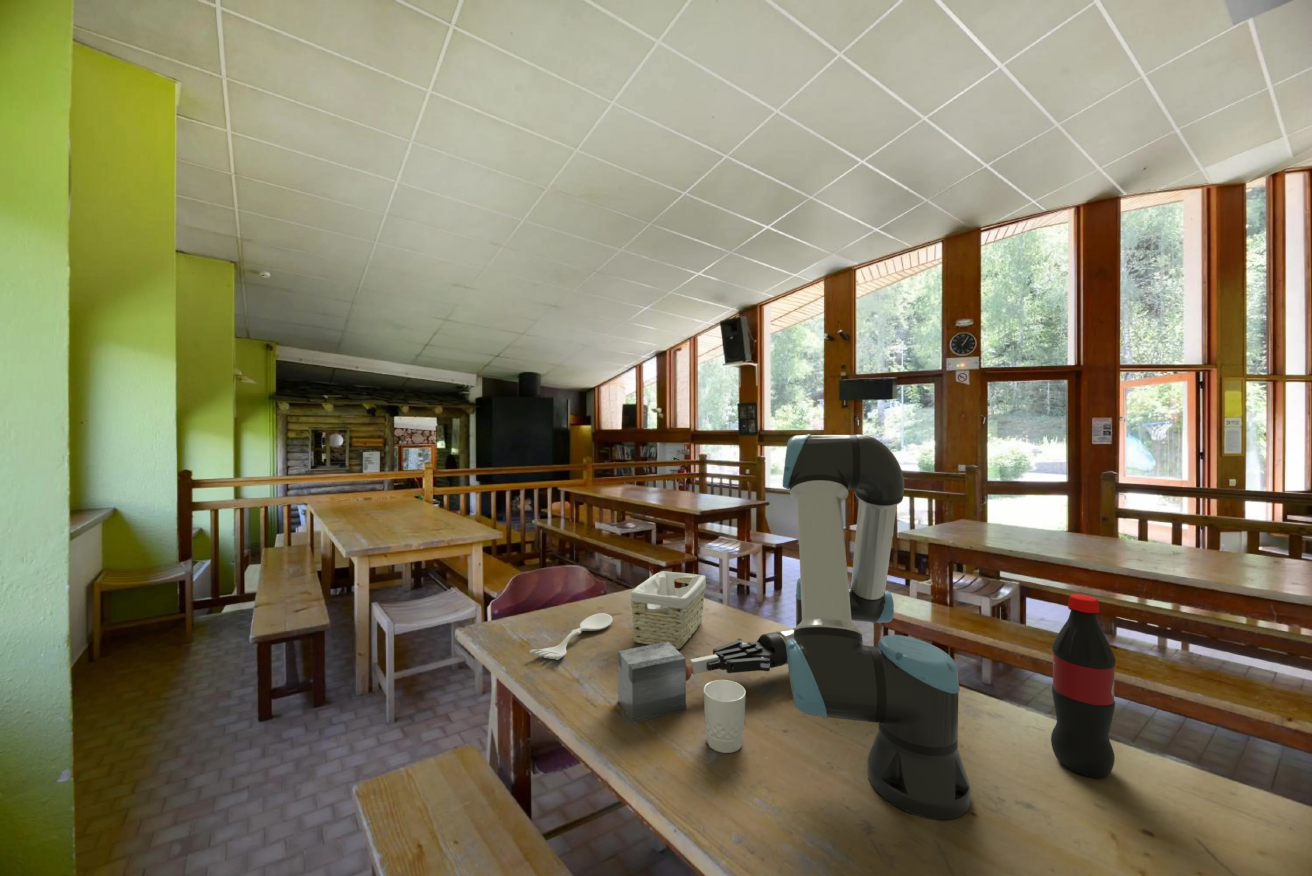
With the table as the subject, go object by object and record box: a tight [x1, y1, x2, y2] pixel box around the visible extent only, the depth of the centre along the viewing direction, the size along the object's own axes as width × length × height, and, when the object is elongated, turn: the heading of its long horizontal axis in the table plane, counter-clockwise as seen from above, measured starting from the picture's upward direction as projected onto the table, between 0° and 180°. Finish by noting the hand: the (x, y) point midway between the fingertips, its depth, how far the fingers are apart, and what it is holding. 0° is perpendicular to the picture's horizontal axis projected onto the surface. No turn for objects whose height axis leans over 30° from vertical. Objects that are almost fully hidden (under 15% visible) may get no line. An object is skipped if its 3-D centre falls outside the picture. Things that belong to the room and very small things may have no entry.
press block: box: [617, 642, 687, 724], centre depth 107 cm, size 12×9×11 cm
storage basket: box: [630, 570, 707, 650], centre depth 146 cm, size 24×16×15 cm
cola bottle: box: [1050, 593, 1117, 778], centre depth 87 cm, size 8×8×30 cm
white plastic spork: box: [528, 612, 614, 661], centre depth 140 cm, size 9×32×4 cm, turn 156°
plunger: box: [686, 662, 693, 682], centre depth 108 cm, size 14×4×4 cm, turn 113°
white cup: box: [703, 679, 747, 754], centre depth 95 cm, size 8×8×10 cm
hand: (691, 666), depth 111 cm, fingers closed
